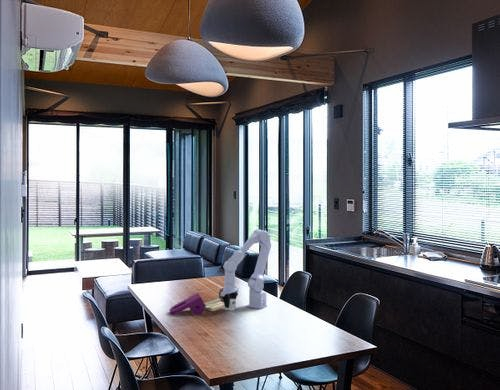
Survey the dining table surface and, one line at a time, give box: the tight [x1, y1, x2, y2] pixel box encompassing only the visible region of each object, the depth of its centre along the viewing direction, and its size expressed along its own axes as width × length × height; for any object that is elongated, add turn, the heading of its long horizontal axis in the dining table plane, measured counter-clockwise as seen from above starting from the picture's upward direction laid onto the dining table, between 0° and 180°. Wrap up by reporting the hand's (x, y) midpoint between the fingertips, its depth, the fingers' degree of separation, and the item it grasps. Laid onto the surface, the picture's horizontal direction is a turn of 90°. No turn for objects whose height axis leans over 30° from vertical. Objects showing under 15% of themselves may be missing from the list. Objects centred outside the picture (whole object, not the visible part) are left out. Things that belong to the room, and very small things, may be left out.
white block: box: [223, 298, 237, 312], centre depth 259 cm, size 6×4×6 cm
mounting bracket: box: [169, 292, 206, 316], centre depth 252 cm, size 9×8×18 cm
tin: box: [218, 286, 238, 302], centre depth 279 cm, size 15×3×8 cm, turn 143°
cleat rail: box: [203, 298, 224, 312], centre depth 262 cm, size 6×14×3 cm, turn 147°
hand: (229, 306), depth 260 cm, fingers closed on white block, 4 cm apart
